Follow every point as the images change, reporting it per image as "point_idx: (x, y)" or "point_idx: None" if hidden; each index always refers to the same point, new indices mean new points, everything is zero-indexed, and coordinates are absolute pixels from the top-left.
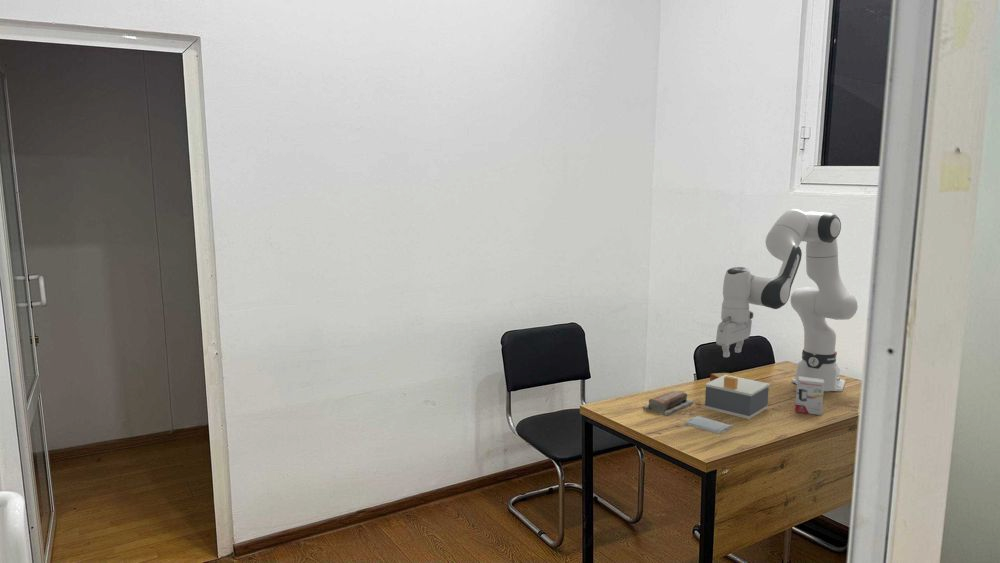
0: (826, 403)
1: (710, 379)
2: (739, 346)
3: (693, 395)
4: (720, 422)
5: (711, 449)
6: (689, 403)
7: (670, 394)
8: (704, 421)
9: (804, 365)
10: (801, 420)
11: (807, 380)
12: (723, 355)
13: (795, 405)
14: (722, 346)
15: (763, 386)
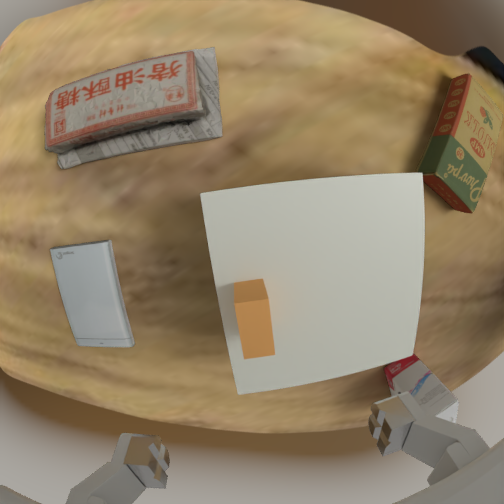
0: (467, 356)
1: (457, 77)
2: (412, 445)
3: (314, 84)
4: (120, 318)
5: (25, 361)
6: (190, 140)
7: (129, 90)
8: (87, 286)
9: None
10: (333, 402)
11: None
12: (120, 440)
13: (393, 373)
14: (73, 499)
15: (367, 365)
